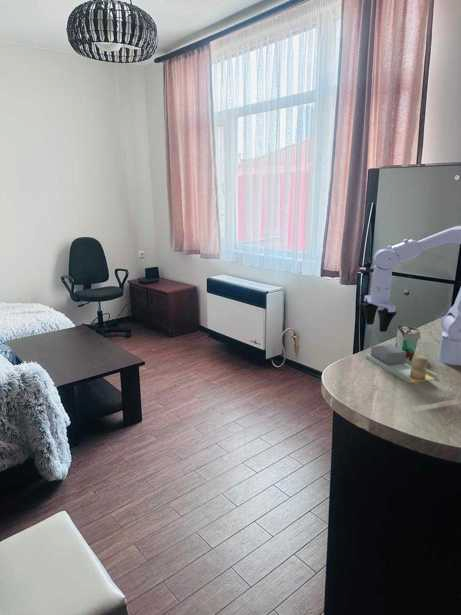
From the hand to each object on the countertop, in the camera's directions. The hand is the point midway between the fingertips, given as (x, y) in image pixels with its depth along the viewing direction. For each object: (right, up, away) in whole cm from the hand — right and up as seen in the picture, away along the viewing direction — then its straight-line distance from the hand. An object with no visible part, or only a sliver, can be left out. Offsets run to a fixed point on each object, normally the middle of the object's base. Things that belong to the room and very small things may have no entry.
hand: (376, 327), depth 139 cm
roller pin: (+6, -14, -16) cm, 22 cm away
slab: (+2, -10, -4) cm, 11 cm away
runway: (+4, -13, -9) cm, 16 cm away
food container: (+11, -10, +2) cm, 15 cm away
